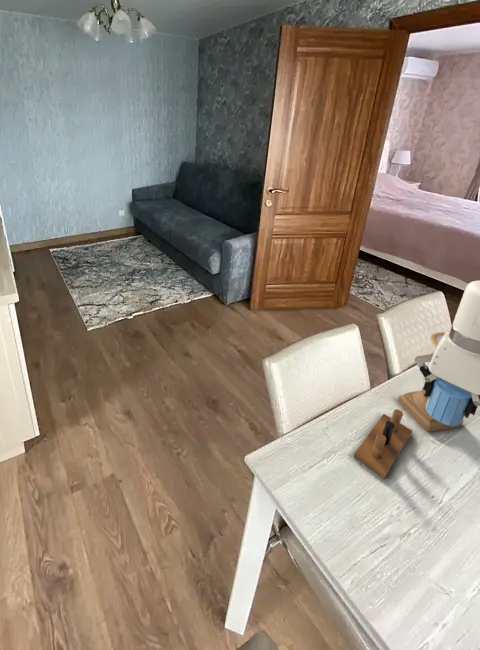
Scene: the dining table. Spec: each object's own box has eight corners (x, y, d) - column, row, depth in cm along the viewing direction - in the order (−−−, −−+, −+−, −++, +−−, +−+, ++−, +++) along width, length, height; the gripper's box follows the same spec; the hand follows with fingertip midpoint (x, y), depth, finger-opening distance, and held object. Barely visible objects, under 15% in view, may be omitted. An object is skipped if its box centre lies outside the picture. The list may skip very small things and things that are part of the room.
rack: (382, 417, 96) (389, 397, 93) (410, 434, 91) (418, 413, 88) (353, 457, 85) (359, 435, 82) (383, 479, 80) (391, 456, 77)
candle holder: (428, 395, 103) (453, 329, 94) (462, 426, 93) (494, 355, 84) (396, 399, 101) (419, 332, 92) (427, 432, 91) (456, 360, 82)
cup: (458, 409, 80) (469, 382, 77) (463, 430, 75) (475, 403, 72) (424, 398, 83) (433, 372, 80) (427, 418, 78) (437, 391, 75)
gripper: (532, 352, 67) (500, 419, 74) (429, 314, 79) (409, 374, 86) (527, 370, 63) (493, 439, 69) (418, 326, 75) (398, 389, 82)
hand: (447, 403), depth 78 cm, fingers closed on cup, 6 cm apart
